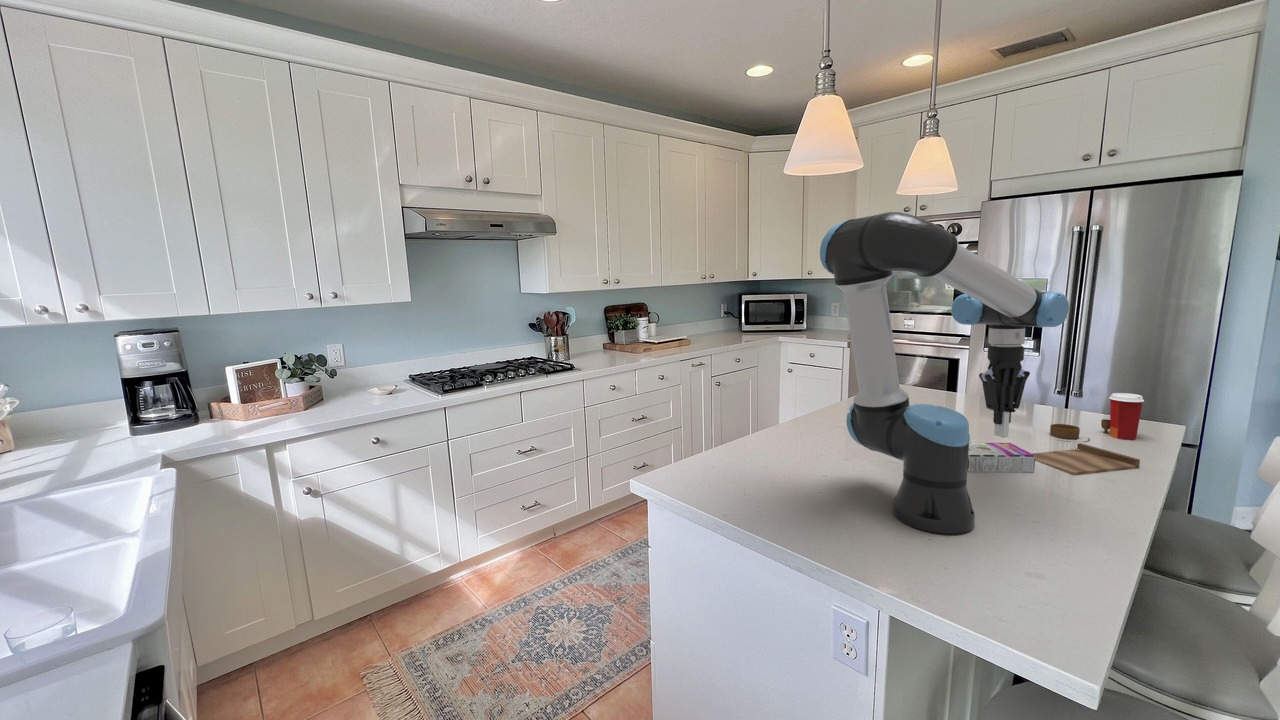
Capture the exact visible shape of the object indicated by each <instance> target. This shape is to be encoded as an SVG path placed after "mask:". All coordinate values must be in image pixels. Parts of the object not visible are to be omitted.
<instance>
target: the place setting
mask: <svg viewBox="0 0 1280 720" xmlns="http://www.w3.org/2000/svg"><path fill="white" fill-rule="evenodd" d="M1100 423H1101V424H1100V426H1101V428H1102V429H1104V431H1103V434H1107V435H1109V432H1108V431H1109V430H1110V419H1105V418H1104V419H1101V422H1100ZM1049 430H1050V431H1049V433H1050V435H1051V436H1052V437H1055V438H1056V439H1057V438H1058V439H1057V441H1060V442H1062V440H1059V439H1063V442H1065V443H1070V441H1068V440H1077V439H1078V438H1079V437H1080V430H1081V429H1080V427H1078V426H1076V425H1073V424H1067V423H1053V424H1050V428H1049ZM1088 441H1089V442H1090V441H1091V439H1090V438H1089V437H1088V438H1087V440H1084V441H1083V442H1084V443H1089V442H1088Z"/></svg>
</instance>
